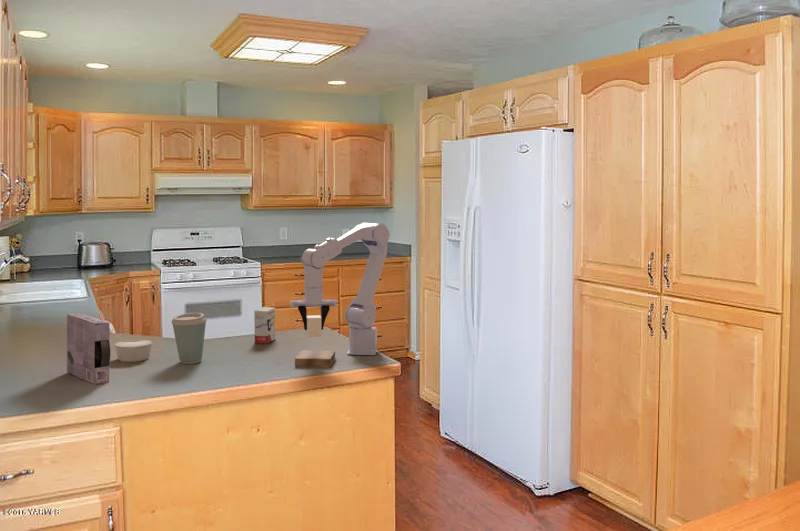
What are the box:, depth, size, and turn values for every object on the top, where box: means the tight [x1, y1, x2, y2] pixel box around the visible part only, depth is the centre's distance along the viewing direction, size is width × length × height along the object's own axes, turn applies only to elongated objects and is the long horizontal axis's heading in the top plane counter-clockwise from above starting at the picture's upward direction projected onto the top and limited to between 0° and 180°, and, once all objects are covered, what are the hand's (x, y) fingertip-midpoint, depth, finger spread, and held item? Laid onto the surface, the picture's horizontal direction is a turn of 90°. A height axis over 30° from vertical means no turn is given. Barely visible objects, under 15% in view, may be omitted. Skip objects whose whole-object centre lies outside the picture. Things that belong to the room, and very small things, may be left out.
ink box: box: [254, 306, 276, 345], centre depth 251 cm, size 9×5×12 cm, turn 168°
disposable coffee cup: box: [171, 312, 207, 365], centre depth 220 cm, size 11×11×15 cm
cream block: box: [305, 314, 322, 338], centre depth 222 cm, size 4×4×6 cm
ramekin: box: [114, 339, 153, 363], centre depth 224 cm, size 11×11×5 cm
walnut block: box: [294, 349, 336, 368], centre depth 222 cm, size 11×11×3 cm
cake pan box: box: [66, 312, 111, 386], centre depth 201 cm, size 19×5×18 cm, turn 48°
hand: (313, 329), depth 222 cm, fingers closed on cream block, 4 cm apart
